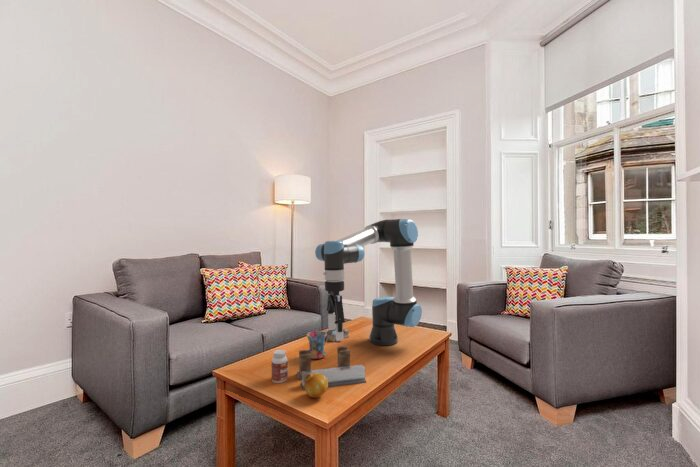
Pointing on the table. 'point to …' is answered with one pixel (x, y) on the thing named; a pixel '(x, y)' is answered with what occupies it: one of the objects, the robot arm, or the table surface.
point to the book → (335, 334)
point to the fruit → (316, 385)
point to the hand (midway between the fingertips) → (335, 334)
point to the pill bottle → (279, 366)
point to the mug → (317, 344)
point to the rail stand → (342, 362)
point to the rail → (338, 374)
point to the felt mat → (344, 383)
